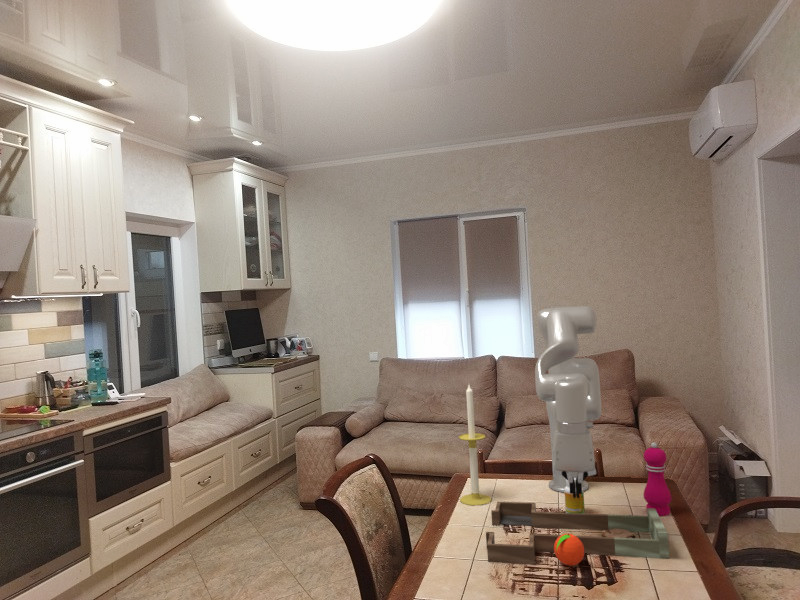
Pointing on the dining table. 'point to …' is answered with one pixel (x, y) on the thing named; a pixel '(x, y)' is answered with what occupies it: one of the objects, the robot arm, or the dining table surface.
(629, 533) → the cookie
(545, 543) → the channel
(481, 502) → the candle
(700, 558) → the dining table surface
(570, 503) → the supplement bottle
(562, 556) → the clementine
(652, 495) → the pepper mill
